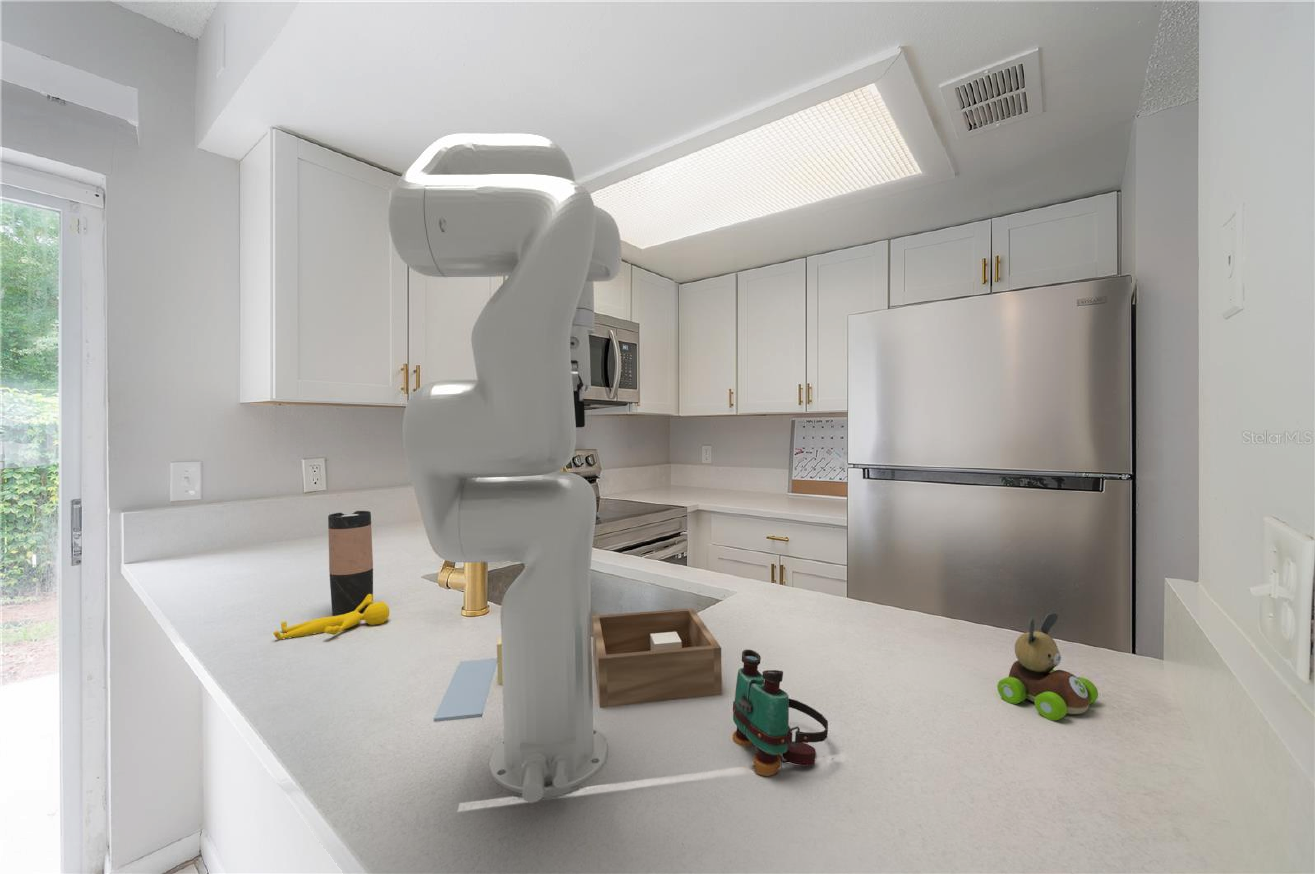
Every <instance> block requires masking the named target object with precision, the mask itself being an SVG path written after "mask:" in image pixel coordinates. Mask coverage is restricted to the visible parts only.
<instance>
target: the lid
mask: <svg viewBox="0 0 1315 874" xmlns="http://www.w3.org/2000/svg"><path fill="white" fill-rule="evenodd" d="M496 656H497V657H496V658H485V659H474V660H472V659H471V660H463V661H459V664H458V666H457V668H456V670H455V672H454V674H453V677H452V679H451V681H450V683H449V685H448V687H447V689H446V692H445V694H444V696H443V697H442V700H441V702H440V704H439V705H438V706H439V707H438V709H437V711H436V713H435V716H434V718H433V722H435V723H436V722H442V721H443V722H445V720H446V721H453V720H454V721H455V720H462V719H463V720H464V719H472V718H482V717H483V715H484V711H485V707H486V703H487V700H488V698H489V693H490V690H491V686H492V682H493V679H494V676H495V673H496V668H497V685H503V679H502V641H501V635H499V637H498V640H497V642H496Z"/></svg>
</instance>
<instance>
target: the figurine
mask: <svg viewBox="0 0 1315 874" xmlns="http://www.w3.org/2000/svg"><path fill="white" fill-rule="evenodd" d="M372 599H373V600H372ZM369 604H370V605H369ZM366 605H369V606H368V607H367V608H366V609H365V611H364V613H362V614H360V613H359V611H360V610H361V609H362V608H363V607H364V606H366ZM389 616H390V608H389V606H388V604H387V603H386V602H384V601H376V602H374V594H373V595H372V594H368V595H367V596H366V598H365V599H364V601H363V602H362V603H361V604H360V605H359V606H358V607H357V608H356V610H355V611H352V612H350V613H347V614H343V615H338V616H333V615H332V616H325V617H324V616H323V617H319V618H314V619H312V620H307V621H304V622H300V623H297V624H294V625H291V626H288V627H287V624H288V623H287V621H282V622H281V624H280V625H281V626H280V627H281V630H282V632H283V633H282V634H281V633H280V631H279V630H275V631H273V635H274V637H275V639H278V640H280V639H282V640H284V639H283V638H289V637H296V638H301V637H300V636H303V637H306V636H305V635H308V636H311V635H310V634H314V633H319V634H323V633H322V632H324V633H325V634H327V635H328V634H329V635H332V636H333V635H337V634H339V633H341V632H342V631H344V630H346V629H349V628H352V627H354V626H355V625H358V624H359V623H360V622H361V621H365V622H366V623H367V624H368V625H370V626H376V625H375V624H379V625H382V624H385V622H386V621H388V620H389ZM381 623H382V624H381ZM286 632H287V633H286ZM314 635H315V634H314Z"/></svg>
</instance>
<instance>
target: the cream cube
mask: <svg viewBox="0 0 1315 874" xmlns="http://www.w3.org/2000/svg"><path fill="white" fill-rule="evenodd" d="M650 644H651V651H654V650H665V649H676V648H682V641H681V640H680V638H679V636H678V634H677V632H666V633H654V634H650Z"/></svg>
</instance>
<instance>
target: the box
mask: <svg viewBox="0 0 1315 874" xmlns="http://www.w3.org/2000/svg"><path fill="white" fill-rule="evenodd" d="M591 618H592V619H591V623H592V654H593V656H592V657H593V664H594V672H595V679H596V686H597V696H598V702H599V708H608V707H609V708H610V707H619V706H629V705H638V704H647V703H649V704H650V703H657V702H667V701H676V700H684V699H685V700H686V699H695V698H704V697H713V696H722V695H723V679H722V678H723V676H722V673H723V672H722V669H723V668H722V647H721V646H720V644H719V643H718V641H717V639H715V637H714V636H713V634H712V633H711V631H710V630H709V629H708V628H707V625H706V624H705V623H704V622H703V620H702V619H701V617H700V616H699V615H698V613H697V611H696V610H695V609H694V608H692V607H691V608H690V607H689V608H679V609H677V608H676V609H665V610H663V609H662V610H652V611H651V610H650V611H639V612H626V613H615V614H612V613H611V614H603V615H602V614H601V615H600V614H599V615H591ZM666 632H677V634H678V636H679V638H680V640H681V641H682V648H676V649H665V650H654V651H651V644H650V634H654V633H666Z"/></svg>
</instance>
